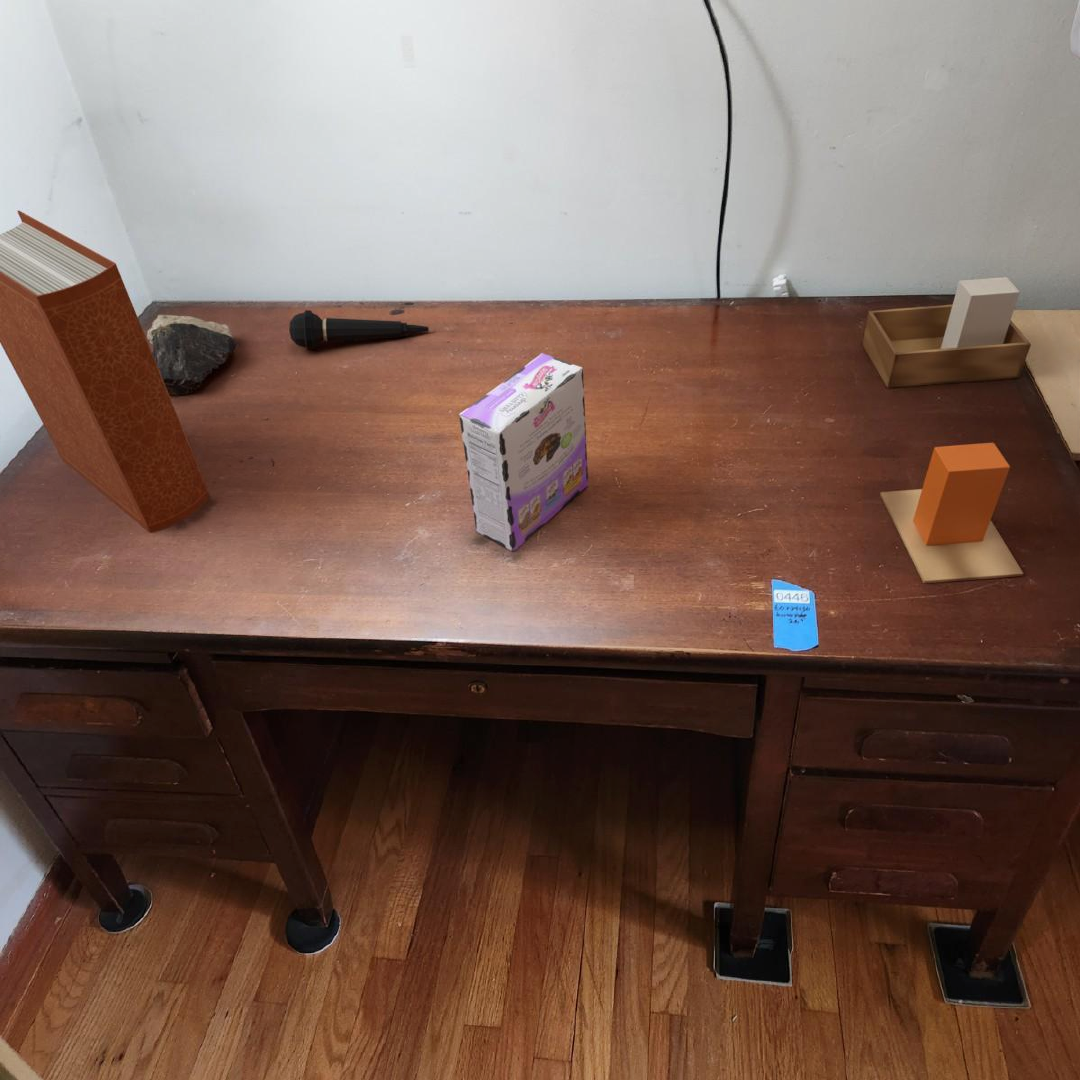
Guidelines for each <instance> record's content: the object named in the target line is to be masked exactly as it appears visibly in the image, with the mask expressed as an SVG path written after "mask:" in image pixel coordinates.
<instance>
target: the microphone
mask: <svg viewBox="0 0 1080 1080" xmlns="http://www.w3.org/2000/svg"><path fill="white" fill-rule="evenodd" d="M288 327H289V328H288V329H289V330H288V331H289V335H290V339H291V341H293V343H294V344H295V345H296V346H298V347H300V348H306V350H308V351H315V349H316V348H318V347H319V346H321V345H322V343H323V342H324V341H326V342H327V343H336V342H343V343H345V344H352V343H356V342H357V341H364V340H365V341H366V340H367V341H368V340H379V339H380V340H381V339H394V338H402V337H408V335H411V334H412V335H413V334H421V333H426V332H429V326H426V325H420V324H419V325H417V324H408V323H407V322H402V321H401V320H400V321H399V320H397V321H396V320H379V319H378V320H377V319H357V318H333V317H325V318H324V319H322V318H321V317H320V316H319V315H318V314H316V313H314V312H313V311H312V310H309V309H305V310H304V312H301V313H297V314H295V315H293V317H292V318H291V320H290V321H289V326H288Z"/></svg>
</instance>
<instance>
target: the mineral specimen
mask: <svg viewBox="0 0 1080 1080" xmlns="http://www.w3.org/2000/svg"><path fill="white" fill-rule="evenodd" d="M146 339H147V340H149V344H152V354H153V357H154V359H155V361H156V364H157V366H158V369H159V371H160V374H161V376H162V379H163V381H164V384H165V386H166V389H167V391H168V393H169V395H171V396H172V395H173V396H177V397H178V396H183V395H187V394H192V393H193V392H194V391H196V390H197V389H199V388H200V386H202V384H203V383H204V381H205V379H206V378H207V376H208V375H210V374H212V373H213V370H216V369H217V370H218V369H219V366H223V365H225V363H227V361H228V358H229V356H230V355H231V354H232V353H233V352H234V351H235V350H236V348H237V347H238V344H237V343H236V342H235V340H234V337H233V334H232V331H231V329H230V328H229V326H228V325H227V324H220V323H219V322H216V321H209V320H208V321H205V320H203V319H202V318H199V317H195V316H192V315H177V314H175V315H174V314H158V315H157V317H156V318H154V320H153V321H152V324H151V327H150V328H149V329H147V332H146Z"/></svg>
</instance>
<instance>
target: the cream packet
mask: <svg viewBox="0 0 1080 1080" xmlns="http://www.w3.org/2000/svg"><path fill="white" fill-rule="evenodd" d="M1019 295H1020V290H1019V289H1018V288H1017V287H1016V286H1015V285H1014V284H1013V283H1012V281H1010V279H1009V278H1008V277H1007V276H1003V277H989V278H976V279H975V278H974V279H964V280H963V279H962V280H958V284H957V288H956V291H955V294H954V299H953V302H952V305H953V306H952V309H951V313H950V317H949V320H948V324H947V328H946V331H945V335H944V339H943V342H942V346H941V349H946V348H959V347H972V346H985V345H998V344H1003V342H1004V339H1005V336H1006V333H1007V330H1008V327H1009V324H1010V321H1012V317H1013V315H1014V311H1015V308H1016V305H1017V302H1018V298H1019Z"/></svg>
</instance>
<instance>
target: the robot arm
mask: <svg viewBox="0 0 1080 1080" xmlns="http://www.w3.org/2000/svg"><path fill="white" fill-rule="evenodd" d="M1071 26H1072V27H1071V31H1070V38H1069V42H1070V50H1071V51H1070V52H1071V54H1072V55H1073V56H1074V57H1076V58H1078V59H1080V0H1078V3H1077V7H1076V11H1075V14H1074V19H1073V22H1072V25H1071Z"/></svg>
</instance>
